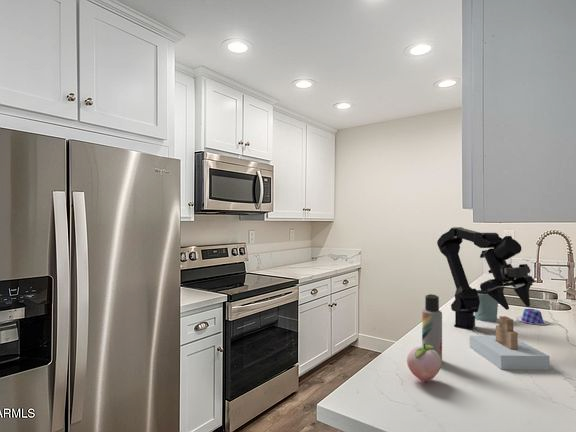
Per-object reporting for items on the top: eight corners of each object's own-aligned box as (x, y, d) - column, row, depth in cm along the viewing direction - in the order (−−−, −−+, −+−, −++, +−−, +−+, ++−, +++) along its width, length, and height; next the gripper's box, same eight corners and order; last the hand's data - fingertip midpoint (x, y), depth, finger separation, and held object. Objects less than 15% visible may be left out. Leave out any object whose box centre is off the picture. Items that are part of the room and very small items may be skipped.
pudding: (556, 326, 146) (556, 313, 146) (527, 326, 146) (527, 313, 146) (536, 318, 158) (536, 306, 158) (509, 318, 158) (509, 306, 158)
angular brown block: (495, 353, 115) (495, 314, 115) (502, 353, 115) (501, 314, 115) (511, 362, 107) (510, 321, 107) (517, 362, 107) (517, 321, 107)
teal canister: (501, 319, 155) (501, 292, 156) (495, 324, 148) (495, 295, 148) (476, 315, 162) (476, 288, 162) (469, 319, 155) (469, 292, 155)
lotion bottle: (441, 358, 110) (441, 294, 111) (442, 365, 105) (442, 297, 105) (421, 355, 112) (421, 292, 112) (422, 362, 107) (422, 296, 107)
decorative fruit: (414, 371, 101) (414, 336, 101) (444, 379, 96) (444, 342, 96) (401, 382, 93) (401, 344, 94) (433, 392, 88) (433, 352, 88)
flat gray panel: (469, 347, 120) (469, 335, 120) (510, 347, 120) (510, 335, 120) (500, 369, 102) (500, 355, 102) (549, 369, 102) (549, 355, 102)
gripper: (493, 257, 117) (515, 304, 110) (535, 254, 122) (559, 298, 115) (471, 269, 126) (490, 313, 119) (511, 266, 132) (531, 307, 125)
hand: (518, 307), depth 119 cm, fingers open, 9 cm apart
